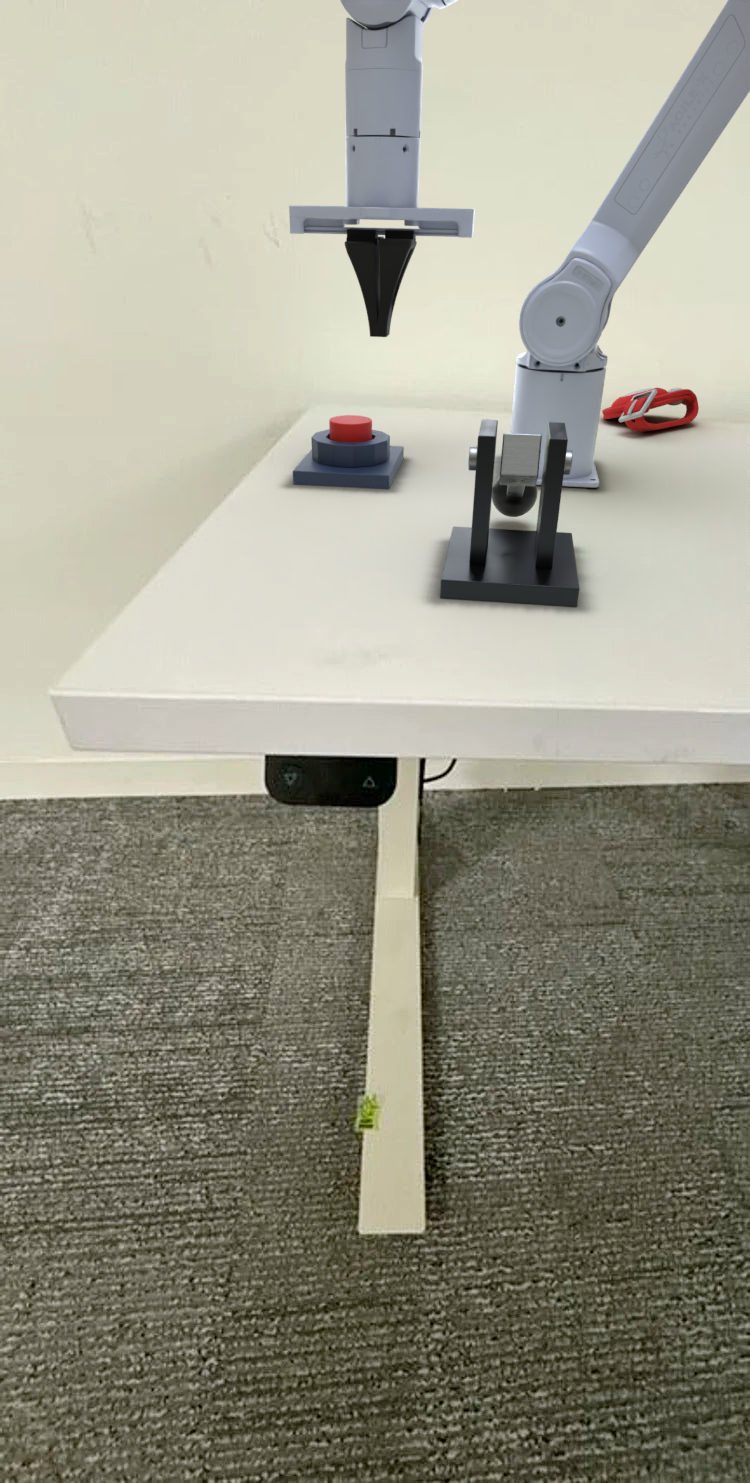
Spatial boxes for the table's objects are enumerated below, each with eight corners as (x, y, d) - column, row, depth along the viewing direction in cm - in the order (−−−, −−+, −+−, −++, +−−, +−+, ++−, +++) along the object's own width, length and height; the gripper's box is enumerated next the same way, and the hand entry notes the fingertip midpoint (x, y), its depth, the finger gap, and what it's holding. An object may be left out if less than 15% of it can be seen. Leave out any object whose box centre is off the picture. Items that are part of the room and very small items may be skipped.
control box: (317, 455, 80) (316, 421, 78) (403, 459, 79) (404, 425, 77) (293, 485, 71) (291, 448, 70) (388, 490, 70) (389, 452, 69)
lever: (489, 519, 63) (493, 474, 63) (533, 521, 63) (537, 476, 62) (490, 481, 50) (495, 425, 50) (546, 484, 50) (551, 427, 50)
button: (334, 435, 75) (333, 414, 75) (374, 437, 75) (374, 416, 74) (326, 445, 72) (325, 423, 72) (368, 446, 72) (368, 425, 71)
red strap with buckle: (587, 403, 96) (675, 379, 96) (594, 443, 98) (680, 420, 97) (622, 396, 85) (722, 369, 84) (629, 443, 86) (727, 416, 86)
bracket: (452, 543, 60) (459, 409, 55) (569, 549, 59) (587, 414, 54) (439, 598, 51) (447, 446, 47) (577, 607, 50) (598, 452, 46)
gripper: (277, 134, 63) (284, 338, 70) (476, 136, 61) (463, 345, 69) (298, 140, 69) (303, 327, 76) (480, 142, 67) (468, 333, 75)
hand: (379, 335), depth 73 cm, fingers closed
